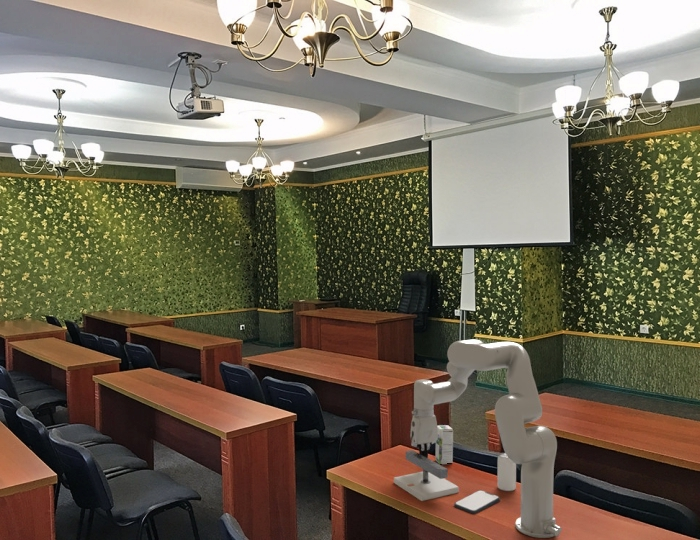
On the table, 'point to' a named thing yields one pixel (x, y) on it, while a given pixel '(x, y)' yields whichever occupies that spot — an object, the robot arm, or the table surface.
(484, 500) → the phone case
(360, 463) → the table surface
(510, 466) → the can
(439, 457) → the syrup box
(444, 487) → the key plate
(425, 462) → the t key
